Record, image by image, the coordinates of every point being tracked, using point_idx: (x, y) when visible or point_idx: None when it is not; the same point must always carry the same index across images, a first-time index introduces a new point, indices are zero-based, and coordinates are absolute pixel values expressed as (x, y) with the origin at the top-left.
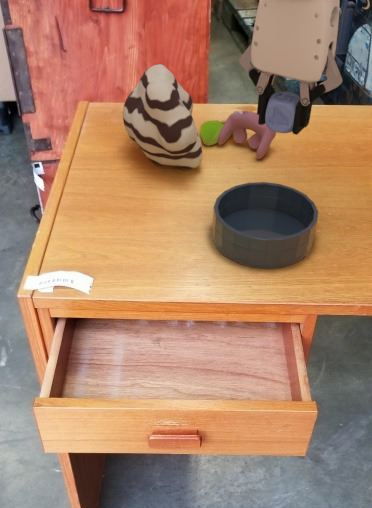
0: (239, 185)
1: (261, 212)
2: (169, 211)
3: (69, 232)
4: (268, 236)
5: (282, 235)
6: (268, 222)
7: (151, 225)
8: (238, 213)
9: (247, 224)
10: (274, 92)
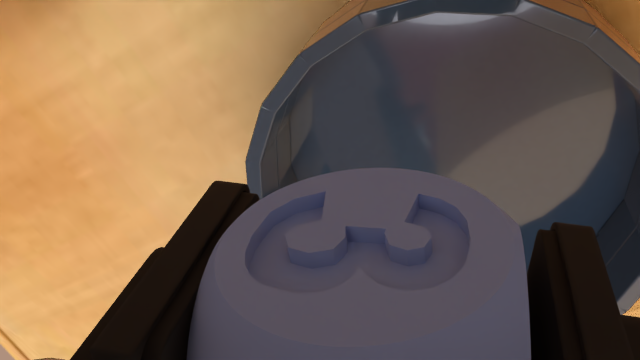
0: (274, 97)
1: (395, 33)
2: (120, 138)
3: (13, 305)
4: (477, 165)
5: (525, 140)
6: (446, 85)
7: (130, 218)
8: (320, 82)
9: (379, 129)
10: (166, 351)
